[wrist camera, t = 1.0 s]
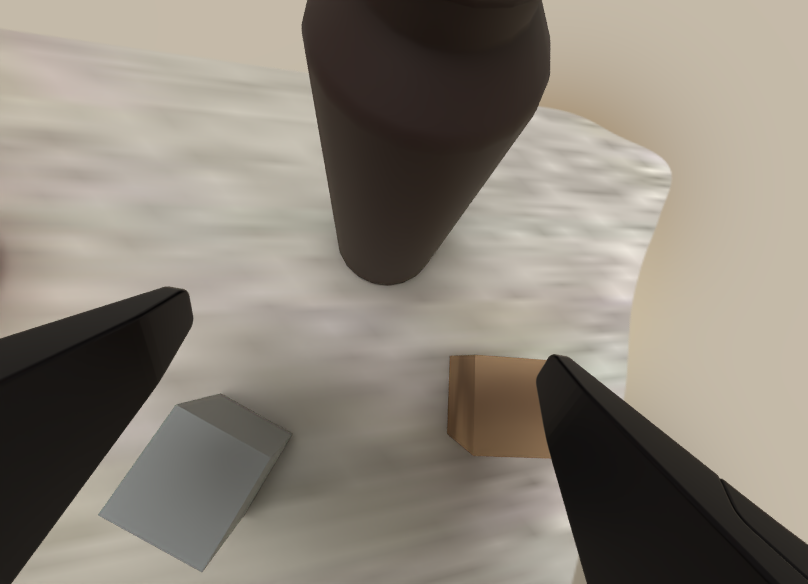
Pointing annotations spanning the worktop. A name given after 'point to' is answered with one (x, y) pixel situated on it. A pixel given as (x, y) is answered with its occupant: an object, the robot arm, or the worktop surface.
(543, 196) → the worktop surface
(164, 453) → the slate cube
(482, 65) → the vinegar
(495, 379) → the walnut cube
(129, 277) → the worktop surface
